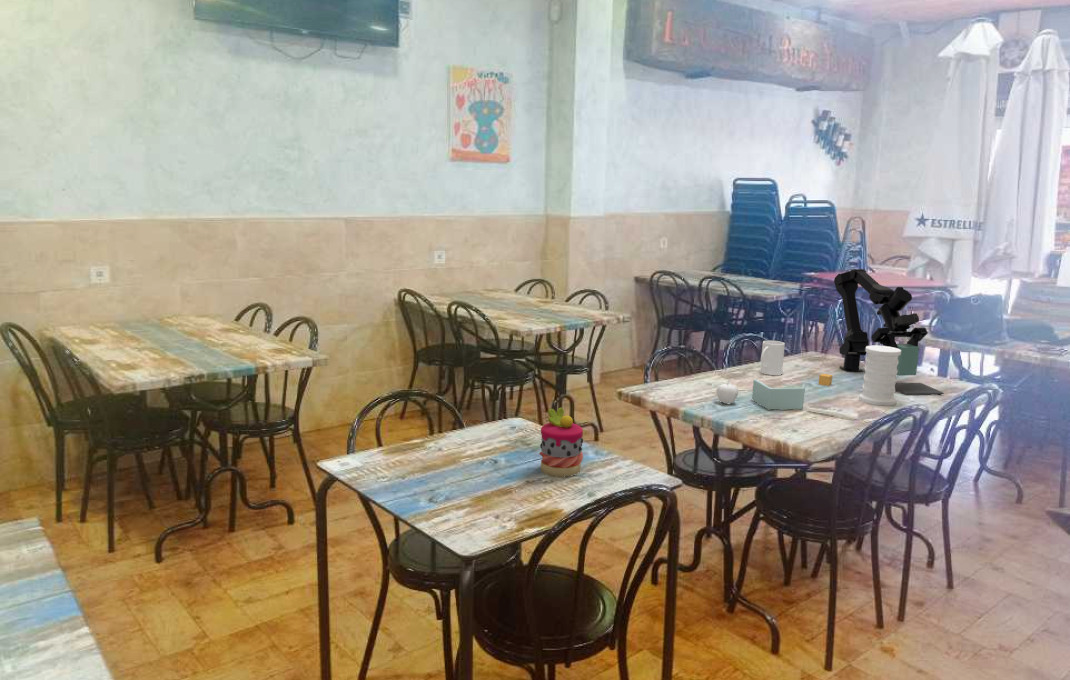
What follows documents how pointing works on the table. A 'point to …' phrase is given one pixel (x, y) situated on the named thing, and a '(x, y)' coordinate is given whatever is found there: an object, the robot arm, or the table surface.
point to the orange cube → (825, 379)
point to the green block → (907, 359)
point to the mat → (915, 389)
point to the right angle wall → (778, 396)
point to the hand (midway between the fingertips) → (907, 354)
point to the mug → (772, 357)
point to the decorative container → (880, 375)
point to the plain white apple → (727, 392)
